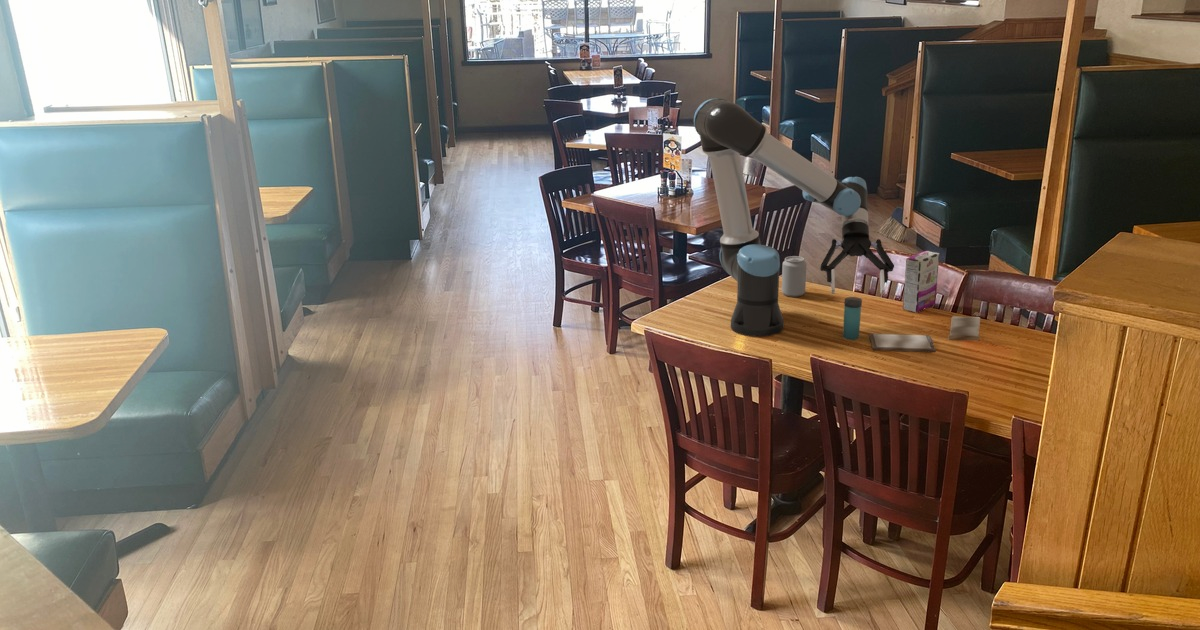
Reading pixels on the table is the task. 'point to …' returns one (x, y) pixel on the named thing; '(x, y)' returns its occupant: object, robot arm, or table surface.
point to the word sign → (965, 328)
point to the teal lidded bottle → (852, 318)
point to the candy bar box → (920, 281)
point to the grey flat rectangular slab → (902, 342)
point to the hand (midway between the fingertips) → (857, 292)
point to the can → (794, 276)
